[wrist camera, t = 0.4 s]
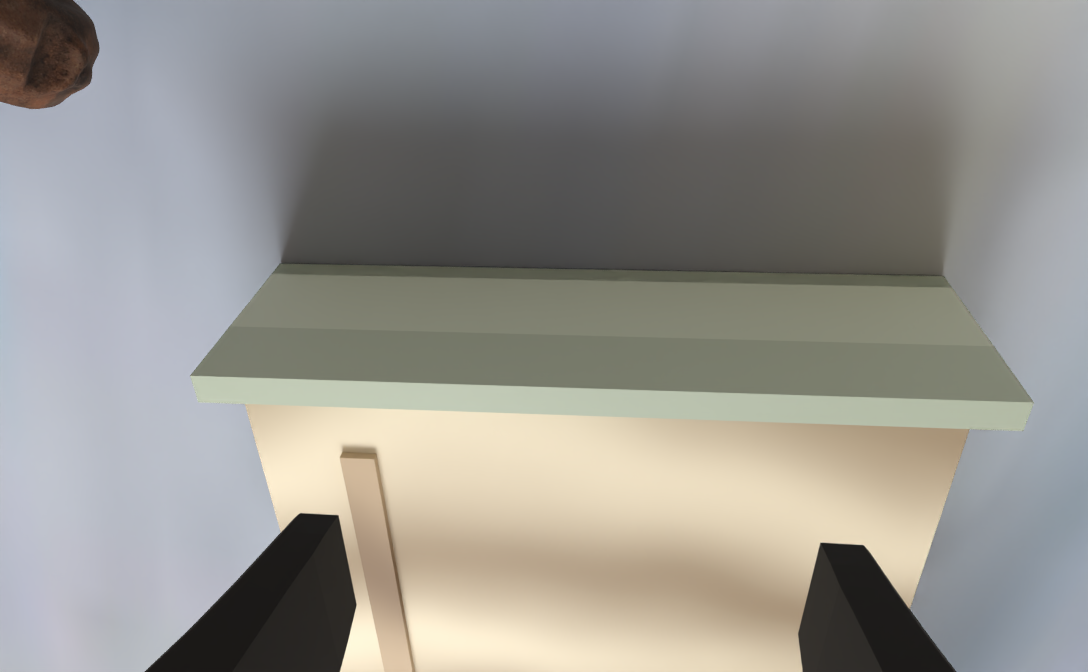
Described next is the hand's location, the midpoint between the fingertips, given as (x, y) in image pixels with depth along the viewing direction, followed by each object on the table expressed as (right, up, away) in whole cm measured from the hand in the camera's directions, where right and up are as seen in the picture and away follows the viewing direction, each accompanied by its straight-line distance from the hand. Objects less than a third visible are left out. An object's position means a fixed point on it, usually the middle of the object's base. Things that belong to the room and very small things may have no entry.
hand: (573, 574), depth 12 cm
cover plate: (+1, -2, +9) cm, 9 cm away
